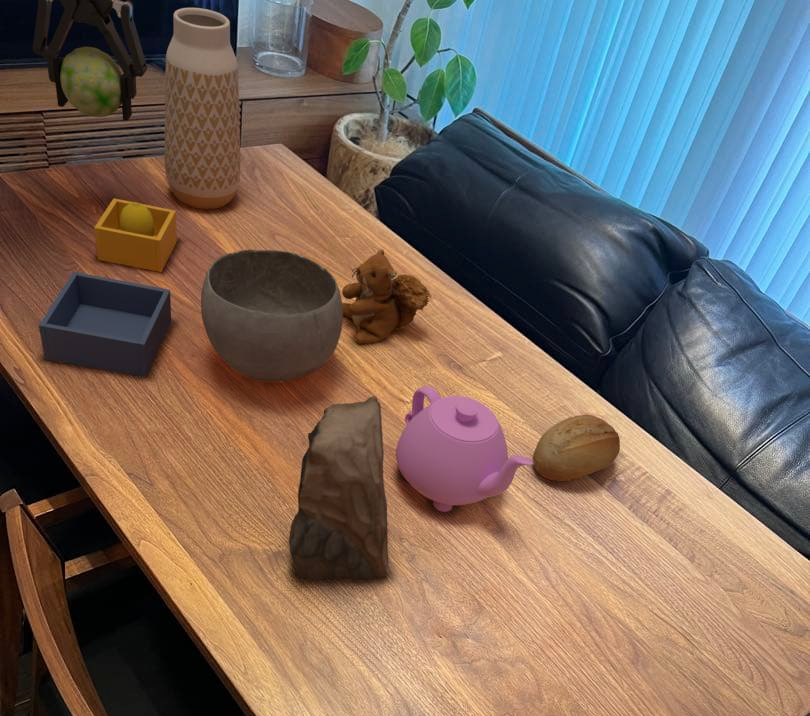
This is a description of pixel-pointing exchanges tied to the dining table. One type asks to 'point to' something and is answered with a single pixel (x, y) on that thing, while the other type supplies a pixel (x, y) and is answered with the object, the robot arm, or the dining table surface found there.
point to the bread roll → (576, 448)
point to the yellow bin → (136, 238)
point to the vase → (202, 110)
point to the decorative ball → (91, 81)
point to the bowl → (271, 313)
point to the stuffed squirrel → (382, 299)
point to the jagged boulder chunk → (342, 497)
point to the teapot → (454, 450)
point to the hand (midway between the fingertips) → (95, 110)
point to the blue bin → (106, 324)
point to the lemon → (137, 219)
